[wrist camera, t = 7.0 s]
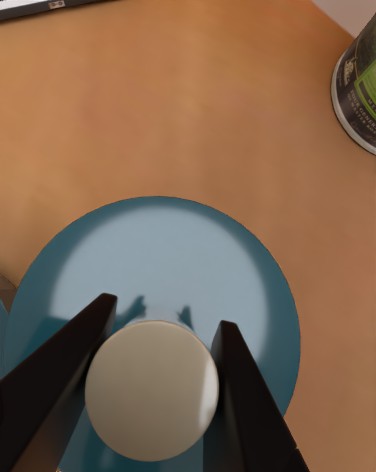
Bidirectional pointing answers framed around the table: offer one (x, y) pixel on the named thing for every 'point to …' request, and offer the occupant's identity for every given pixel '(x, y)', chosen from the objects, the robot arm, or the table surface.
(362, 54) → the coffee can
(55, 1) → the cell phone
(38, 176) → the table surface
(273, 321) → the lid
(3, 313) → the dish
